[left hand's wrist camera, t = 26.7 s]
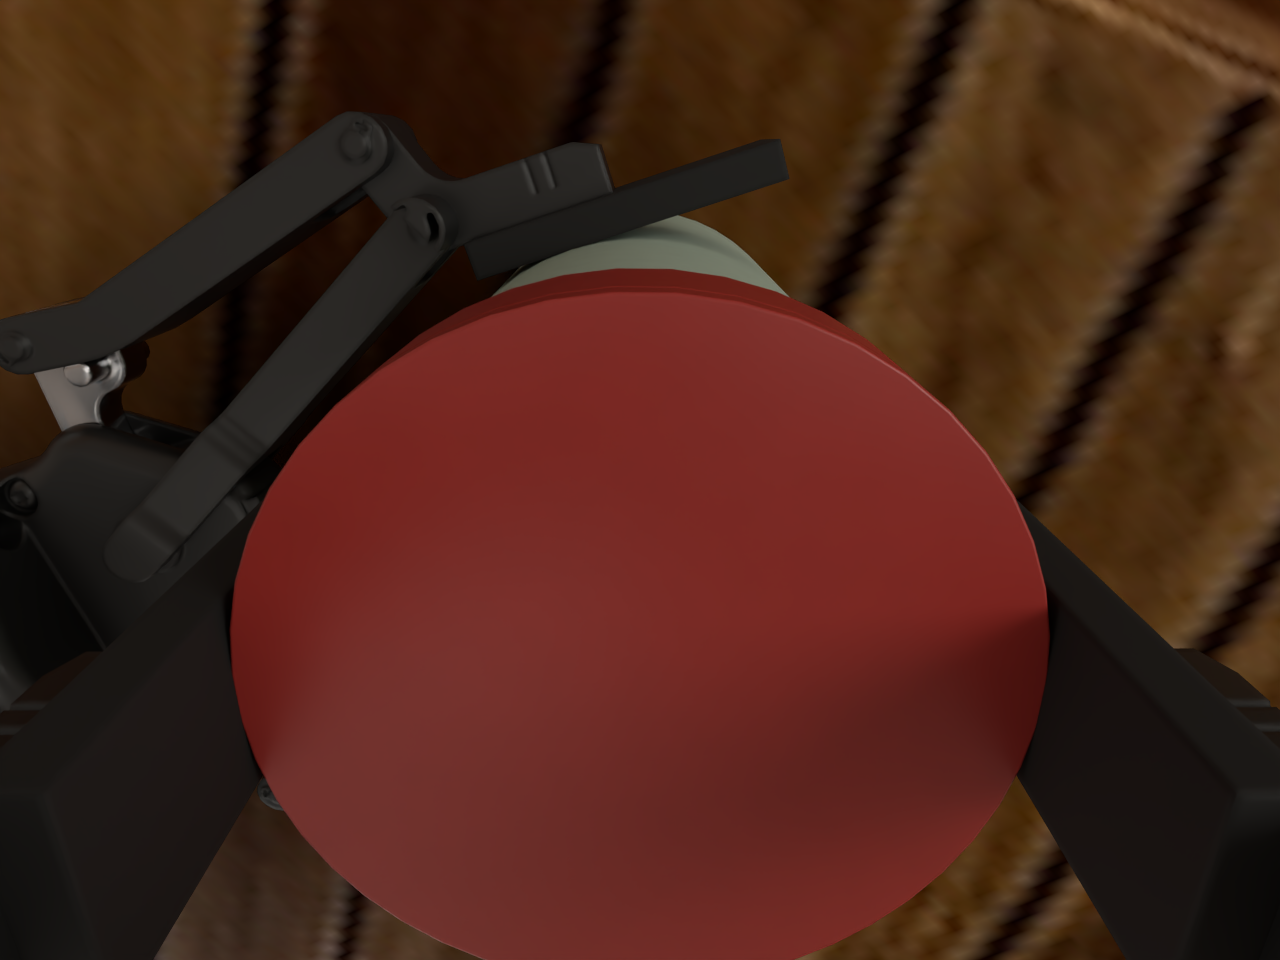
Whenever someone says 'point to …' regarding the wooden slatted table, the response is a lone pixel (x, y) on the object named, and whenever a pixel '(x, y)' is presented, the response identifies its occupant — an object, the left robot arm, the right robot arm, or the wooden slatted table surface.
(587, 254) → the jar
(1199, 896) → the left robot arm
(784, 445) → the lid
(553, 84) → the wooden slatted table surface
